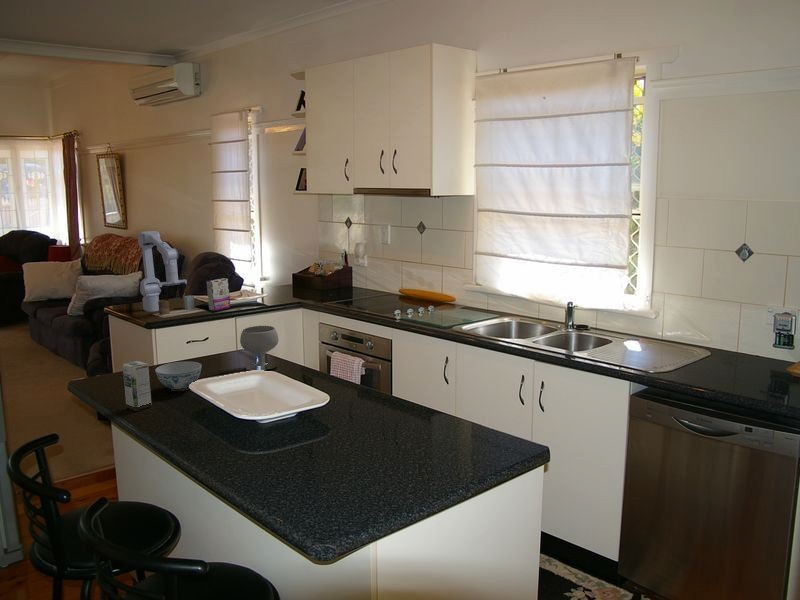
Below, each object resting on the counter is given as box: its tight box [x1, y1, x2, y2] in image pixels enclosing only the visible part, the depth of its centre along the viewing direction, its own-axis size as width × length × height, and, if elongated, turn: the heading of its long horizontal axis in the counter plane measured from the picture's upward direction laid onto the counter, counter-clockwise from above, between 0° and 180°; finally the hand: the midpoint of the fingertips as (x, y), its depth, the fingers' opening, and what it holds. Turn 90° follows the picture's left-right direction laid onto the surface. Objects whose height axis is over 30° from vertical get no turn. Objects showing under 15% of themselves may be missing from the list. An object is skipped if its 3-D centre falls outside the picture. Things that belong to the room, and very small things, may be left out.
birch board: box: [152, 307, 207, 319], centre depth 371 cm, size 14×24×1 cm, turn 133°
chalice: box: [239, 325, 279, 366], centre depth 261 cm, size 14×14×15 cm
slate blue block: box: [183, 295, 196, 310], centre depth 379 cm, size 4×4×7 cm
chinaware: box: [154, 361, 202, 389], centre depth 238 cm, size 15×15×8 cm
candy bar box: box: [206, 277, 231, 311], centre depth 378 cm, size 11×5×16 cm, turn 143°
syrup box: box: [122, 360, 152, 407], centre depth 219 cm, size 6×6×14 cm
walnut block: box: [158, 299, 171, 316], centre depth 366 cm, size 4×4×7 cm
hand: (174, 299), depth 357 cm, fingers open, 7 cm apart
